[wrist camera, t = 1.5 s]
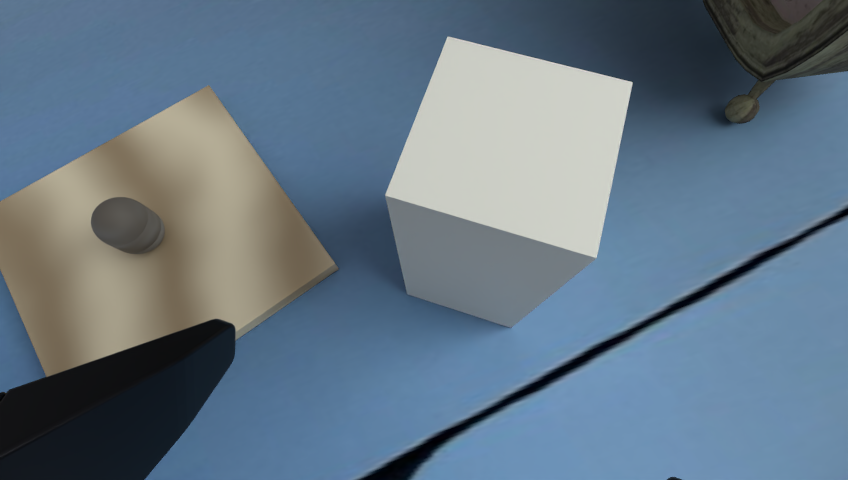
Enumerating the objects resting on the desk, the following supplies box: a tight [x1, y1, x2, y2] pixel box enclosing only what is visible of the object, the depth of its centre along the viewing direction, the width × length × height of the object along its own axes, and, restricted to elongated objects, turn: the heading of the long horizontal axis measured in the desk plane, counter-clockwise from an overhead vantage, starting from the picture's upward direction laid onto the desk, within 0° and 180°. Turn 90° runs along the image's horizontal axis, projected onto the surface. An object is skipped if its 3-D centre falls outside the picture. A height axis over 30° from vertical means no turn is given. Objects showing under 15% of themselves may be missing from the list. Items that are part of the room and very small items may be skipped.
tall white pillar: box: [385, 37, 633, 328], centre depth 18 cm, size 6×6×12 cm
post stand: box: [0, 85, 339, 377], centre depth 22 cm, size 14×14×4 cm
